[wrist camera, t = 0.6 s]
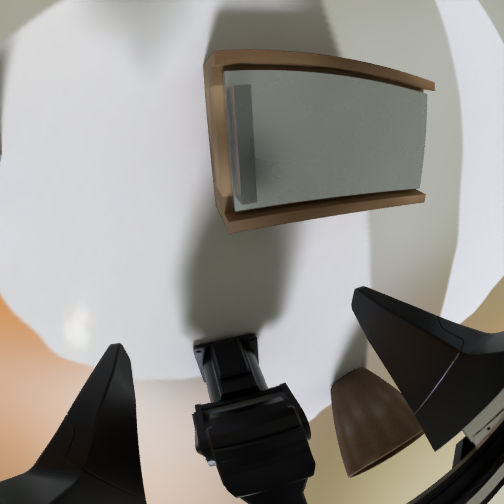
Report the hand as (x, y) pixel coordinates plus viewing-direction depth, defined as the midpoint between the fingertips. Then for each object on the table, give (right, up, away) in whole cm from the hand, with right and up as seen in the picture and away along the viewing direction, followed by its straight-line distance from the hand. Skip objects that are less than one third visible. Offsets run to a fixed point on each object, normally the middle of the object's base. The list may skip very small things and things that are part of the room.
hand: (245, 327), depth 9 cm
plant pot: (+17, -20, +32) cm, 41 cm away
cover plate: (+6, +10, +6) cm, 13 cm away
